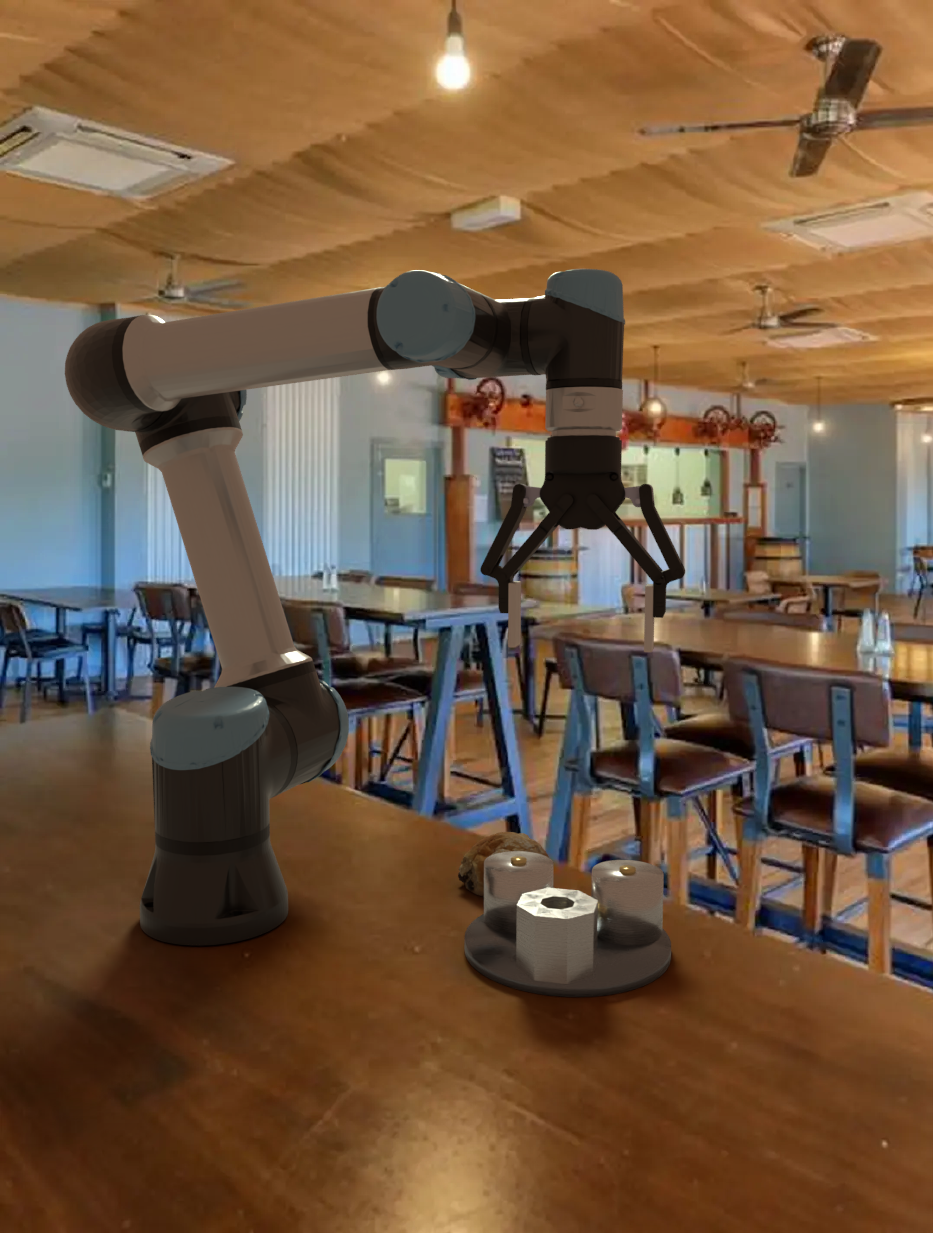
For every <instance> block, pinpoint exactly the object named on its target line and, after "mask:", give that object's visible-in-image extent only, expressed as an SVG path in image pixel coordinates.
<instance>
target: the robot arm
mask: <svg viewBox="0 0 933 1233" xmlns="http://www.w3.org/2000/svg"><path fill="white" fill-rule="evenodd" d="M625 325H626V319H625V314H624V291H623V282H622V280H621V278H620V277H619V276H618V275H616V274H615V273H613V272H612V271H609V270H605V269H597V268H596V269H595V268H573V269H567V270H564V271H557V272H554V273H552V274H551V275H550V276H549V277H548V278H547V280H546V288H545V290H544V295H541V296H536V297H530V298H513V299H512V298H510V299H509V298H508V299H494V298H492V297H490V296H488V295H485V294H483V293H481V292H479V291H476V290H475V289H473V288H472V289H471V288H470V287H467V286H465V285H464V284H461V283H459V282H458V281H456V280H455V279H453V278H452V277H451V276H448V275H446V274H441V273H439V272H436V271H435V272H434V271H427V270H423V269H421V270H420V269H418V270H417V269H415V270H409V271H405V272H403V273H401V274H400V275H397V277H396V276H395V278H394V279H392V280H391V281H390V282H389V283H388V284H387V285H386V286H385V285H384V286H379V287H374V288H367V289H361V290H355V291H349V292H343V293H336V294H331V295H325V296H324V295H323V296H318V297H312V298H306V299H300V300H295V301H294V300H293V301H286V302H281V303H276V304H269V305H262V306H258V307H252V308H245V309H238V310H233V311H225V312H219V313H214V314H208V315H207V314H206V315H202V316H196V317H190V318H189V317H188V318H183V319H177V320H170V321H165V320H163V319H162V318H161V317H158V316H157V315H153V314H142V315H136V316H129V317H123V318H122V317H121V318H115V319H108V320H102V321H99V322H96V323H94V324H92V325H90V326H89V327H88V326H87V327H86V328H85V329H84V330H83V331H82V332H80V333H79V334H78V336H77V337H76V338H75V339H74V340H73V342H72V344H71V345H70V346H69V348H68V352H67V354H66V358H65V363H64V378H65V384H66V387H67V390H68V393H69V396H70V397H71V399H72V401H73V402H74V404H75V405H76V406H77V408H78V409H79V410H80V411H81V412H82V413H83V415H85V416H86V417H87V418H89V419H90V420H91V421H93V422H94V423H97V424H99V425H100V426H102V427H106V428H108V429H111V430H114V431H122V432H130V433H132V432H133V433H135V437H136V439H137V443H138V446H139V448H140V449H139V450H140V453H141V456H142V459H143V461H144V462H145V463H147V464H148V465H150V466H153V468H156V469H158V470H159V472H161V474H162V478H163V481H164V485H165V488H166V490H167V494H168V497H169V500H170V503H171V508H172V510H173V513H174V517H175V520H176V523H177V526H178V530H179V532H180V536H181V540H182V542H183V546H184V548H185V552H186V556H187V558H188V563H189V565H190V566H189V567H190V568H191V572H192V576H193V579H194V581H195V585H196V588H197V591H198V594H199V597H200V600H201V604H202V608H203V610H204V613H205V614H204V615H205V618H206V621H207V624H208V628H209V631H210V634H211V637H212V640H213V644H214V646H215V650H216V654H217V657H218V659H219V663H220V666H221V673H220V675H219V678H218V679H217V681H216V683H215V685H214V687H209V688H205V689H204V690H193V691H190V692H185V693H182V694H180V695H177V696H175V697H172V698H171V699H169V700H167V701H165V702H164V703H163V704H162V705H160V706H159V707H158V708H157V710H156V711H155V713H154V715H153V718H152V723H151V724H152V726H151V739H150V743H149V744H150V746H149V750H150V756H151V766H152V767H151V768H152V770H151V771H152V772H151V773H152V790H153V791H152V794H153V813H154V814H153V816H154V819H153V820H154V836H155V837H154V841H155V842H154V843H155V844H154V845H155V847H154V848H155V850H154V854H153V858H152V861H151V865H150V867H149V871H148V873H147V874H148V875H147V878H146V882H145V885H144V887H143V891H142V894H141V897H140V901H139V902H140V903H139V924H140V928H141V930H142V932H144V933H145V934H146V935H147V936H149V937H151V938H152V939H154V940H158V941H160V942H164V943H169V944H174V945H179V946H180V945H182V946H215V945H225V944H231V943H236V942H241V941H245V940H249V939H253V938H255V937H258V936H261V935H263V934H265V933H268V932H270V931H272V930H274V929H275V928H277V927H279V926H280V925H281V924H282V923H283V922H284V921H285V920H286V919H287V917H288V914H289V892H288V887H287V885H286V883H285V879H284V877H283V874H282V870H281V869H280V865H279V863H278V860H277V857H276V855H275V852H274V849H273V846H272V843H271V835H270V834H271V832H270V831H271V830H270V827H271V826H270V825H271V824H270V800H271V799H273V798H274V797H277V796H278V795H280V794H283V793H284V792H287V791H289V790H291V789H293V788H295V787H296V786H300V785H304V784H306V783H310V782H312V781H314V780H316V779H317V778H318V777H319V776H321V775H322V774H323V773H325V772H326V771H327V770H329V769H330V768H331V767H332V766H333V765H335V763H336V762H337V761H338V760H339V759H340V757H341V755H342V754H343V752H344V750H345V747H346V745H347V741H348V738H349V730H350V722H349V714H348V711H347V707H346V705H345V704H346V703H345V702H344V700H343V699H342V697H341V695H340V694H339V692H338V690H336V689H335V688H334V687H331V686H330V685H328V683H327V681H324V680H322V679H320V678H319V675H318V673H317V670H316V667H315V664H314V659H313V658H312V657H311V656H309V655H308V654H305V653H303V652H302V651H300V650H299V649H297V647H296V646H295V644H294V641H293V637H292V634H291V631H290V627H289V624H288V622H287V618H286V614H285V612H284V608H283V604H282V602H281V598H280V596H279V595H280V594H279V592H278V589H277V586H276V582H275V578H274V576H273V572H272V569H271V566H270V563H269V560H268V556H267V553H266V550H265V546H264V543H263V539H262V536H261V534H260V531H259V527H258V522H257V520H256V517H255V513H254V511H253V506H252V504H251V500H250V497H249V494H248V491H247V488H246V487H247V486H246V485H245V481H244V477H243V475H242V471H241V469H240V464H239V461H238V458H237V456H236V449H237V448H238V446H239V444H240V442H241V441H242V438H243V436H244V433H243V430H242V427H241V424H240V420H242V417H243V415H244V411H243V408H244V406H245V405H247V398H248V397H247V395H248V394H247V393H248V392H247V391H248V390H253V389H262V388H268V387H277V386H283V385H290V384H296V383H297V384H298V383H305V382H311V381H320V380H326V379H333V378H335V379H336V378H341V377H342V378H343V377H349V376H356V375H363V374H370V373H371V374H372V373H378V372H386V371H395V370H396V371H397V370H407V369H414V368H421V367H430V366H431V367H433V368H434V371H435V372H436V374H438V376H439V377H442V378H445V379H465V380H468V381H472V380H477V379H481V378H482V379H483V378H484V379H485V378H498V377H500V378H501V377H516V376H517V377H518V376H531V375H532V376H542V375H543V376H544V375H545V418H544V420H545V424H544V425H545V429H544V430H546V431H547V432H550V433H551V434H550V436H548V437H547V438H546V440H545V441H544V442H545V444H544V445H545V446H544V448H545V449H544V451H545V454H544V467H545V468H544V480H543V484H542V485H541V487H540V486H531V485H527V484H525V483H516V484H514V486H513V488H512V494H511V503H510V506H509V508H508V511H507V513H506V515H505V517H504V520H503V521H502V523H501V526H500V528H499V529H498V531H497V534H495V538H494V539H493V541H492V544H491V546H490V547H489V550H488V551H487V554H486V556H485V558H484V559H483V562H482V564H481V565H480V569H479V570H480V573H481V574H482V576H488V577H490V578H492V579H495V581H497V585H498V607H497V608H498V610H499V613H500V614H508V618H507V619H508V620H507V621H508V622H507V624H508V625H507V626H508V627H507V628H508V630H507V634H508V636H507V637H508V639H507V641H508V643H507V644H508V645H507V647H508V648H517V647H518V646H520V645H521V643H522V642H521V639H522V638H521V636H522V635H521V632H522V631H521V628H522V626H521V625H522V620H521V619H522V618H521V617H522V615H521V614H522V613H521V612H522V580H521V581H520V580H519V581H518V580H514V578H515V576H516V575H517V573H519V572H520V570H521V569H522V568H523V566H525V565H526V564H527V563H528V561H529V560H530V559H531V558H532V556H534V554H535V552H537V550H538V549H539V548H540V547H542V545H543V543H544V542H545V541H546V540H547V539H548V538H549V536H550V535H551V534H552V533H553V532H554V531H555V530H556V529H557V528H558V526H559V527H561V528H562V529H565V530H576V529H579V528H582V529H586V530H588V531H589V530H592V531H593V530H596V531H597V530H599V529H602V528H604V527H605V526H606V528H607V529H608V530H609V531H610V532H611V533H612V535H614V536H615V537H616V539H617V540H618V542H620V544H621V545H622V546H623V547H624V548H625V550H626V551H627V552H628V553H629V555H630V556H631V557H632V558H633V559H634V561H635V562H636V563H637V565H638V566H640V569H642V570H643V572H644V574H645V575H647V576H648V578H649V579H650V580H651V582H652V583H647V584H645V587H644V588H645V589H644V624H643V625H644V631H643V632H644V634H643V642H644V643H643V653H653V651H654V646H655V619H656V618H657V619H659V618H661V619H663V618H664V617H665V614H666V611H667V588H668V587H667V586H668V584H669V583H671V582H674V581H677V580H681V579H682V578H684V576H685V575H686V569H685V566H684V564H683V562H682V560H681V558H680V556H679V554H678V551H677V549H676V547H675V545H674V543H673V541H672V539H671V537H670V535H669V533H668V531H667V529H666V526H665V524H664V522H663V520H662V519H661V516H660V514H659V512H658V510H657V508H656V506H655V505H656V504H655V495H654V487H653V486H652V484H649V483H643V484H641V485H636V486H630V487H629V486H627V487H625V485H624V484H623V481H622V480H623V479H622V456H623V455H622V453H623V451H622V449H623V448H622V445H623V440H622V439H620V436H617V435H616V434H617V432H620V431H621V430H622V429H623V405H624V402H623V401H624V400H623V398H624V397H623V393H624V389H623V370H624V369H623V366H624V365H623V363H624V339H625V338H624V337H625V336H624V335H625ZM539 498H540V501H541V502H542V504H543V505H544V506H545V508H546V509H547V511H548V513H546V515H545V517H544V518H543V519H542V520H541V522H540V523H538V525H537V527H536V528H535V529H534V531H533V532H532V533H530V535H529V537H528V538H527V539H526V540H525V541H524V542H523V543H522V545H521V546H520V547H519V548H518V550H516V552H515V553H514V554H513V555H512V556H511V558H510V559H509V560H508V561H507V562H506V564H505V565H504V566H502V565H500V564H501V562H502V561H503V559H504V556H505V554H506V553H507V550H508V548H509V546H510V544H511V542H512V540H513V538H514V536H515V534H516V532H517V530H518V527H519V526H520V524H521V522H522V520H523V519H524V516H525V513H526V511H527V509H528V508H529V507H532V506H533V505H534V504H535V501H536V500H537V499H539ZM627 498H628V499H629V500H630V501H631V502H632V505H633V506H634V507H635V508H640V509H641V510H640V511H641V514H642V515H643V517H644V520H645V522H646V524H647V526H648V528H649V530H650V532H651V534H652V536H653V539H654V541H655V543H656V545H657V546H658V549H659V551H660V553H661V555H662V557H663V560H664V561H665V563H666V566H667V568H666V569H664V570H663V569H662V567H660V565H659V564H658V563H657V562H656V560H655V559H654V557H652V556H651V554H650V553H649V552H648V551H647V549H646V548H645V547H644V546H643V545H642V543H641V542H640V541H639V540H638V538H637V537H636V536H635V535H634V534H633V532H632V531H631V530H630V529H629V527H628V526H627V525H626V523H625V522H624V521H623V519H621V517H620V516H619V515H618V514H617V511H618V510H619V508H620V507H621V505H622V504H623V503H624V501H625V500H626V499H627Z"/></svg>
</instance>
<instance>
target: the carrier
mask: <svg viewBox="0 0 933 1233" xmlns="http://www.w3.org/2000/svg"><path fill="white" fill-rule="evenodd" d="M664 876H665V875H664V871H663V870H662V869H661V868H660V867H659V866H656V865H654V864H652V863H649V862H645V861H639V860H632V859H613V860H606V861H602V862H599V863H597V864H595V865H594V866H593V867H592V868H591V890H590V891H591V895H590V897H592V898H594V899H596V900H598V923H597V964H596V968H595V971H594V974H593V977H590V978H586V979H583V980H579V981H576V982H573V983H569V984H561V983H552V982H543V981H534V980H533V979H531V978H530V977H528V976H527V975H525V974H524V973H522V972H521V971H520V970H518V969H517V968H516V936H517V904H518V902H519V900H520V898H521V896H522V894H523V893H527V892H532V891H536V890H540V889H545V888H554V861H553V860H552V859H551V858H550V857H549V858H548V857H547V856H544V855H541V854H538V853H533V852H525V851H510V852H502V853H497V854H494V855H491V856H489V857H487V858H486V859H485V861H484V897H483V914H480V915H479V916H477V917H476V918H475V919H474V920H472V921H471V922H470V924H469V925H467V928H466V930H465V933H464V955H465V958H466V959H467V961H468V962H469V964H470V965H471V967H472V968H474V969H475V970H476V971H477V972H478V973H480V974H481V975H483V976H484V977H486V978H487V979H489V980H492V981H493V982H496V983H498V984H499V985H503V986H506V987H508V988H511V989H515V990H518V991H523V992H528V993H532V994H537V995H542V996H543V995H545V996H552V997H563V998H564V997H565V998H590V997H591V998H592V997H602V996H610V995H615V994H622V993H626V992H630V991H633V990H636V989H639V988H641V987H645V986H647V985H648V984H651V983H653V982H655V981H656V980H657V979H659V978H660V977H661V976H663V974H665V973H666V971H667V970H668V968H669V966H670V964H671V961H672V941H671V938H670V936H669V935H668V933H667V932H666V930H665V929H664V928H663V921H664V920H663V917H664V909H663V908H664Z"/></svg>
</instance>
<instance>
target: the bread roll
mask: <svg viewBox="0 0 933 1233" xmlns="http://www.w3.org/2000/svg"><path fill="white" fill-rule="evenodd" d="M510 851H525V852H533V853H538V854H541V855H544V856H547V857H548V858H550V857H549V854H548V853H547V851H546V850H545V849H544V847H543V846H542V845H541V844H540V843H539V842H538V841H536V840H535V839H533V838H531V837H530V836H529V835H528V834H526V833H524V832H521V833H520V832H519V833H517V832H514V831H512V832H511V831H501V832H496V833H493V834H491V835H488V836H485V837H484V838H482V839H479V840H478V841H477V842H476V843H475V844H473V845H472V847H471V848H470V849H469V850H468V851H466V853H465V854H464V855H463V858H462V860H461V861H460V863H461V865H459V868H458V870H459V872H458V874H457V877H458V880H459V881H461V882H462V883H464V885H465V888H466V890H468V891H469V892H470V893H473V894H475V895H476V896H479V897H483V898H484V861H485V859H486V858H487V857H489V856H491V855H494V854H497V853H502V852H510Z"/></svg>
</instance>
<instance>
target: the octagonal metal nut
mask: <svg viewBox="0 0 933 1233" xmlns="http://www.w3.org/2000/svg"><path fill="white" fill-rule="evenodd" d="M597 923H598V900H596V899H594V898H592V897H591V895H588V894H587V893H584V892H583V891H581V890H578V889H577V890H575V889H566V888H555V887H553V888H545V889H540V890H536V891H532V892H527V893H523V894H522V896H521V898H520V900H519V902H518V904H517V936H516V968H517V969H518V970H520V971H521V972H522V973H524V974H525V975H527V976H528V977H530V978H531V979H533V980H534V981H543V982H552V983H561V984H569V983H573V982H576V981H579V980H583V979H586V978H590V977H593V974H594V971H595V968H596V964H597Z"/></svg>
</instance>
